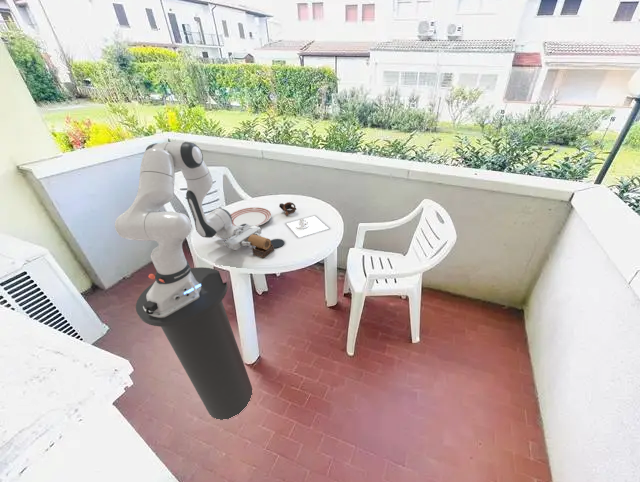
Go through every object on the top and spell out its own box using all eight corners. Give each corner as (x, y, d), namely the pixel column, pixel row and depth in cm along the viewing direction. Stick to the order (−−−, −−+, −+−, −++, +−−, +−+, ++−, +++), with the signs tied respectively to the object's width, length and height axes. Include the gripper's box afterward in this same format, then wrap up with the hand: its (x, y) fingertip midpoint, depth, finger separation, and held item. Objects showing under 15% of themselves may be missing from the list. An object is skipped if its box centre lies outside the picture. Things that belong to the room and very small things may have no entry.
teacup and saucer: (306, 221, 179) (306, 215, 177) (312, 226, 174) (311, 220, 171) (293, 224, 175) (293, 219, 173) (298, 230, 170) (298, 224, 168)
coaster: (277, 249, 152) (277, 249, 152) (264, 245, 155) (264, 245, 155) (287, 242, 159) (287, 241, 159) (274, 238, 162) (274, 237, 162)
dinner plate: (257, 234, 165) (256, 229, 163) (217, 228, 171) (216, 223, 169) (279, 214, 187) (279, 209, 185) (243, 209, 193) (242, 204, 191)
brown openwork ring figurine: (298, 210, 194) (298, 202, 187) (293, 220, 190) (293, 214, 182) (281, 204, 194) (280, 197, 186) (276, 215, 189) (275, 208, 182)
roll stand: (263, 258, 146) (262, 252, 144) (253, 254, 148) (251, 248, 146) (274, 250, 152) (273, 244, 150) (264, 246, 155) (262, 240, 152)
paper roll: (264, 252, 145) (262, 242, 142) (249, 247, 149) (246, 237, 145) (271, 246, 149) (270, 236, 146) (257, 241, 153) (255, 232, 150)
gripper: (219, 238, 144) (239, 245, 139) (248, 221, 159) (267, 227, 154) (222, 248, 147) (242, 255, 142) (250, 231, 163) (269, 237, 158)
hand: (255, 240), depth 148 cm, fingers closed on paper roll, 6 cm apart
